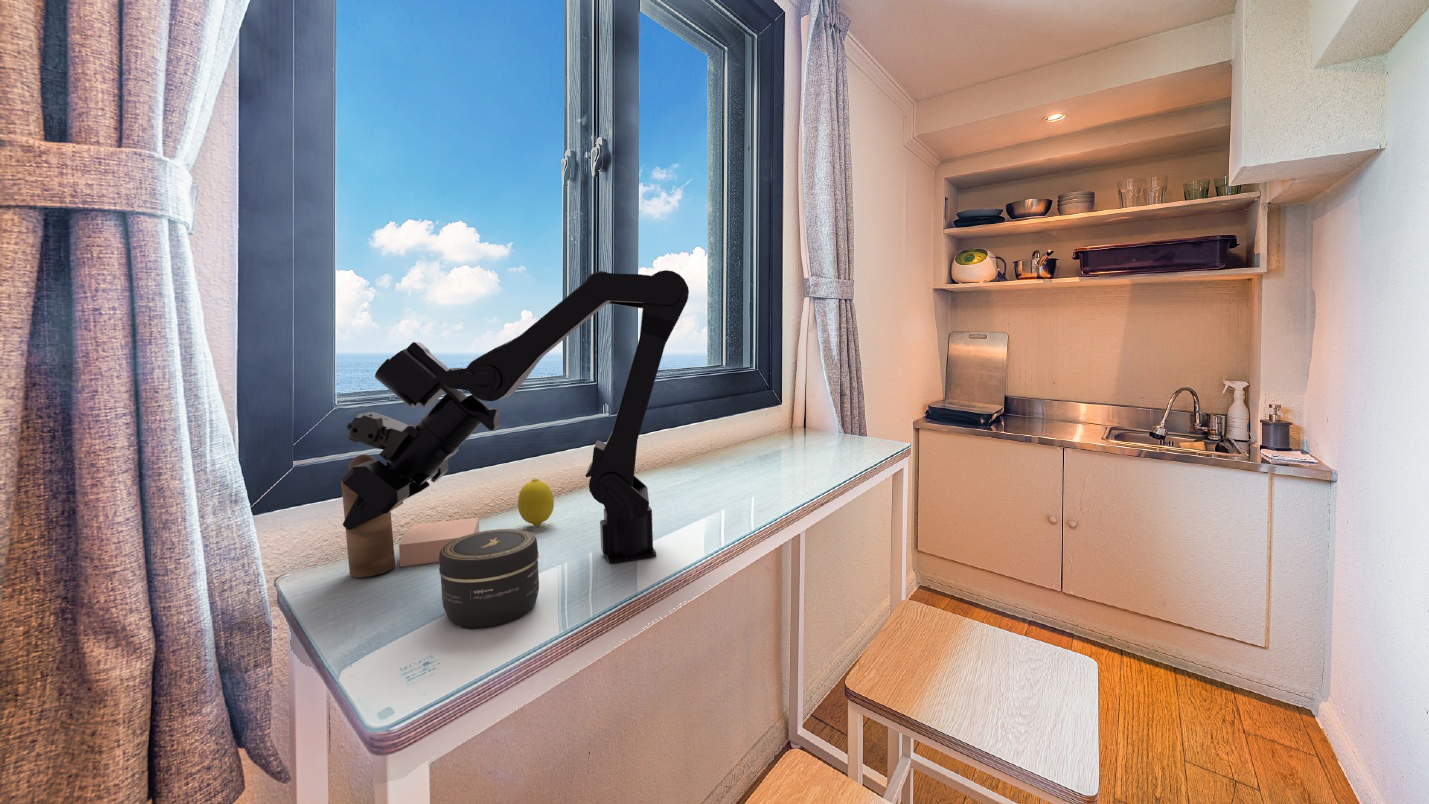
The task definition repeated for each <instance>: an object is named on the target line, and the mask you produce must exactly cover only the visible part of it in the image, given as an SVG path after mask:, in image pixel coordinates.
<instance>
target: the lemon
mask: <svg viewBox="0 0 1429 804" xmlns="http://www.w3.org/2000/svg"><path fill="white" fill-rule="evenodd" d="M554 499H555V498H554V494H553V491H552V488H551V487H550V486H549V485H548V483H546V482H544V481H542V480H539V479H538V478H533V479H532V480H531V481H529V482H527V483H526V484H524V485H523V486H522V487H521V489H520V491H519V494H518V499H517V507H518V513H519V515H520V517H521V518H522V519H523V520H524V521H525V522H527V523H528V524H532V525H533V526H534V527H536V528H538V527H540V526H541V525H542V524H543V523H544V522H546V521H547V520H548V519H550V517H551V515H552V513H553V511H554V506H555V500H554Z"/></svg>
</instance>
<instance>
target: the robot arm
mask: <svg viewBox="0 0 1429 804" xmlns="http://www.w3.org/2000/svg"><path fill="white" fill-rule="evenodd" d="M689 290H690V289H689V287H688V284H687V282H686V280H685V278H684V277H682V276H681V275H680V273H677V272H675V271H674V270H668V269H667V270H660V271H658V272H657V271H656V273H653V274H652V275H649V274H639V273H638V274H637V273H614V272H607V271H603V270H598V271H594V272H593V273H591V274H589V276H588V277H587V279H586V280H585V281H584V282H583V283H582V284H580V285H579V286H578V287H577V288H575V289H574V290H573V291H572V292H571V293H569V294H568V295H567V296H566V297H565V298H564V299H562V300H561V301H559V302H558V303H557V304H556V305H555V306H554V307H553V308H552V309H550V310H549V311H548V312H547V313H546V314H544V315H543V316H542V317H540V318H539V319H538V320H537V321H536V322H534V323H533V324H532V325H531V326H530V327H529V328H527V329H526V330H525V331H524V332H523V333H521V334H520V335H518V336H517V337H515V338H513V339H512V340H510V341H509V340H508V341H506V342H505V343H503V344H501V345H498V346H497V347H494V348H493V349H491V350H490V351H487V352H485V353H483V354H482V355H481V356H478V357H477V358H475V359H473V360H472V361H470V363H469V364H468V365H467V366H466V367H464V368H463V367H451V368H449V367H447V366H446V365H445V364H444V363H443V362H442V361H441V360H439V359H438V358H437V357H436V356H434V355H433V353H432V352H431V351H430V350H429V348H428V347H426V346H425V345H424V344H423V343H422V342H419V341H415V342H411V344H410V345H409V346H407V348H403V349H402V350H400V351H399V352H397V353H396V354H394V355H393V356H392V357H390V358H387V359H386V360H384V362H383V363H382V364H381V365H380V366H379V367H378V369H377V370H376V372H375V375H374V378H375V379H376V380H377V381H379V382H380V383H381V384H382V385H383V386H384V387H386V388H387V389H388V390H389V391H390V392H391V393H393V394H394V396H395V395H396V396H397V398H399V399H400V400H402V402H404V403H405V404H406V405H408V407H410V408H411V409H414V408H417V407H418V406H419V405H421V406H422V407H423V409H424V408H425V409H427V408H428V407H430V406H432V405H433V404H434V403H435V402H437V400H438V402H437V403H436V404H435V405H434V406H433V407H432V408H431V409H430V410H429V411H428V412H427V413H426V414H425V415H424V417H423V418H421V419H420V420H419V422H417V423H415V424H409V425H408V424H407V423H404V422H402V421H400V420H398V419H394V418H392V417H389V416H386V415H384V414H381V413H379V412H376V411H367V412H362V413H358V414H356V416H354V417H353V420H352V421H351V422H350V423H348V424H347V425H346V428H347V430H348V431H349V433H348V435H347V439H348V440H350V441H351V442H354V443H361V444H364V445H368V446H370V447H372V448H375V449H378V450H382V451H381V452H380V453H379V454H378V455H379V456H380V457H381V458H382V459H384V460H385V461H386V464H384V463H383V462H382V461H380V460H377V461H366V462H364V463H361V464H359V465H357V466H354V467H352V469H351V470H350V471H349V470H348V471H347V472H346V474H344V475H343V477H341V482H343V484H345V485H346V486H347V487H348V488H350V489H351V490H352V491H354V492H355V493H356V494H358V495H357V497H356V499H355V501H354V503H353V505H352V507H351V509H350V511H349V513H348V515H347V517H346V518H345V517H344V520H343V522H342V526H343V527H344V528H345V530H346V529H348V530H351V529H353V528H355V527H357V526H359V525H361V524H363V523H366V522H368V521H370V520H372V519H374V518H376V517H378V516H380V515H382V514H387V513H389V512H390V511H393V510H395V509H397V508H398V507H400V506H401V505H403V504H404V501H405V500H406V499H409V498H411V497H412V496H415V495H417V494H418V493H420V492H422V491H424V490H426V489H427V488H428V487H429V486H430V483H429V482H428V481H429V480H430V481H431V482H432V483H435V482H437V481H438V480H440V479H441V478H442V477H443V476H444V475H445V474H446V473H447V472H448V471H449V460H448V459H449V458H451V457H452V456H453V457H454V456H455V455H456V453H457V452H459V450H460V447H461V445H463V443H465V441H467V439H468V438H469V437H470V436H471V435H472V434H473V433H474V432H475V431H476V430H477V429H478V427H480V425H483V426H485V428H487V429H488V430H489V431H495V430H496V429H498V428H500V426H501V420H500V419H501V418H500V413H501V412H500V411H501V410H500V407H494V408H490V407H489V406H487V405H486V404H485V403H484V402H495V401H498V400H501V399H505V398H507V397H509V396H511V395H513V394H514V393H515V392H516V391H517V390H518V389H519V388H520V386H521V385H522V384H523V383H524V381H526V379H527V378H528V377H529V376H530V375H531V373H532V372H533V371H534V369H535V368H536V366H537V364H538V363H539V362H540V361H541V360H542V359H543V357H545V356H546V355H547V354H548V353H549V352H551V350H553V349H554V348H556V347H557V346H558V345H559V344H560V343H561V342H562V341H563V340H565V339H566V338H568V336H570V334H572V333H574V332H575V330H577V329H578V328H579V327H581V326H582V325H583V324H584V323H585V322H587V321H589V319H590V318H591V317H593V316H594V315H595V314H596V313H598V312H599V311H600V310H601V309H602V308H604V307H605V306H607V305H616V306H623V307H630V308H636V309H642V312H641V320H640V321H641V322H640V330H639V339H638V341H637V346H636V349H635V353H634V354H633V358H632V359H633V360H632V363H631V366H630V369H629V373H628V377H627V379H626V383H625V385H624V386H625V387H624V390H623V394H622V397H621V401H620V405H619V408H618V411H617V414H616V418H615V422H614V425H613V429H612V430H611V432H610V435H609V437H608V439H607V441H606V443H605V442H604V441H600V440H596V441H595V444H594V447H593V452H592V460H591V461H592V462H591V463H590V464H589V465H588V468H587V471H586V473H585V478H589V482H588V483H589V484H588V489H589V493H590V494H591V497H593V500H595V501H597V502H598V504H601V505H603V507H604V508H603V519H601V520H600V521H599V529H600V530H599V532H600V533H599V534H600V535H599V536H600V548H601V549H600V550H601V552H602V554H603V555H605V556H606V559H607V561H608V563H610V564H611V563H613V564H614V563H619V562H625V561H627V562H628V561H634V560H642V559H647V558H653V557H656V556H657V551H656V550H655V548H654V539H653V537H654V535H653V534H654V532H653V509H652V508H651V507H650V499H649V491H648V490H649V489H648V486H647V485H646V484H645V483H644V482H643V481H642V480H640V479H639V478H638V477H636V476H635V469H636V461H637V460H636V459H637V449H638V448H637V447H638V439H639V436H640V432H641V430H642V425H643V422H644V419H645V415H646V412H647V408H648V405H649V402H650V398H651V396H652V391H653V388H654V384H655V382H656V378H657V374H658V371H659V368H660V364H661V361H662V358H663V354H664V351H665V346H666V344H667V342H668V340H669V338H670V336H671V334H672V332H673V330H674V328H675V326H676V325H677V323H678V321H679V318H680V317H681V314H682V312H683V310H684V309H685V307H686V305H687V303H688V300H689V295H690V291H689ZM460 390H461V391H467V392H469V393H470V394H469V395H468V396H467V395H466V394H464V393H463V392H461V391H460ZM444 393H445V395H444ZM442 395H444V396H443V397H442V398H441V396H442ZM440 398H441V399H440ZM439 399H440V400H439ZM482 401H484V402H482Z"/></svg>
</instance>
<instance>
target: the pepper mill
mask: <svg viewBox="0 0 1429 804" xmlns="http://www.w3.org/2000/svg"><path fill="white" fill-rule="evenodd" d="M366 461H378V460H377V458H376V457H374V455H373V456H372V455H370V454H366V453H365V454H358V455H357V456H355V457H353V458H352V459H351V460H350V462H349V465H348V472H349V471H350V470H351V469H352V467H354V466H357V465H359V464H361V463H364V462H366ZM340 485H341V493H342V494H341V495H342V496H341V497H342V504H343V516H344V519H345V518H346V517H347V515H348V513H349V511H350V509H351V507H352V505H353V503H354V501H355V499H356V497H357V495H358V494H356V493H355V492H354V491H352V490H351V489H350V488H348V487H347V486H346V485H345V484H343V482H342V481H341V482H340ZM392 523H393V521H392V512H391V511H390V512H389V513H387V514H382V515H380V516H378V517H376V518H374V519H372V520H370V521H368V522H366V523H363V524H361V525H359V526H357V527H355V528H353V529H351V530H348V529H346V528H345V536H346V537H345V538H346V547H347V557H348V558H347V559H348V571H349V575H350V576H351V577H354V578H367V577H368V578H369V577H374V576H378V575H381V574H384V573H386V572H389V571H391V570H392V569H394V568H395V567H396V558H395V545H394V535H393V524H392Z"/></svg>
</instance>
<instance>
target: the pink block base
mask: <svg viewBox="0 0 1429 804" xmlns="http://www.w3.org/2000/svg"><path fill="white" fill-rule="evenodd" d="M477 532H480V518H479V517H469V518H461V519H453V520H445V521H444V520H443V521H434V522H426V523H425V522H424V523H417V524H412V525H411V527H410V529H409V530H408V531H407V532H406V533H405V535H404V536H403V539H402V540H401V541H400V543H399V544H398V549H399V550H398V551H399V565H400V568H401V567H409V566H416V565H423V564H430V563H431V564H432V563H439V554H440V551H441V549H442V548H443V547H444V546H445V545H446V544H447V543H449V542H451V541H453V540H455V539H457V538H460V537H463V536H466V535H469V534H473V533H477Z"/></svg>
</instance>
